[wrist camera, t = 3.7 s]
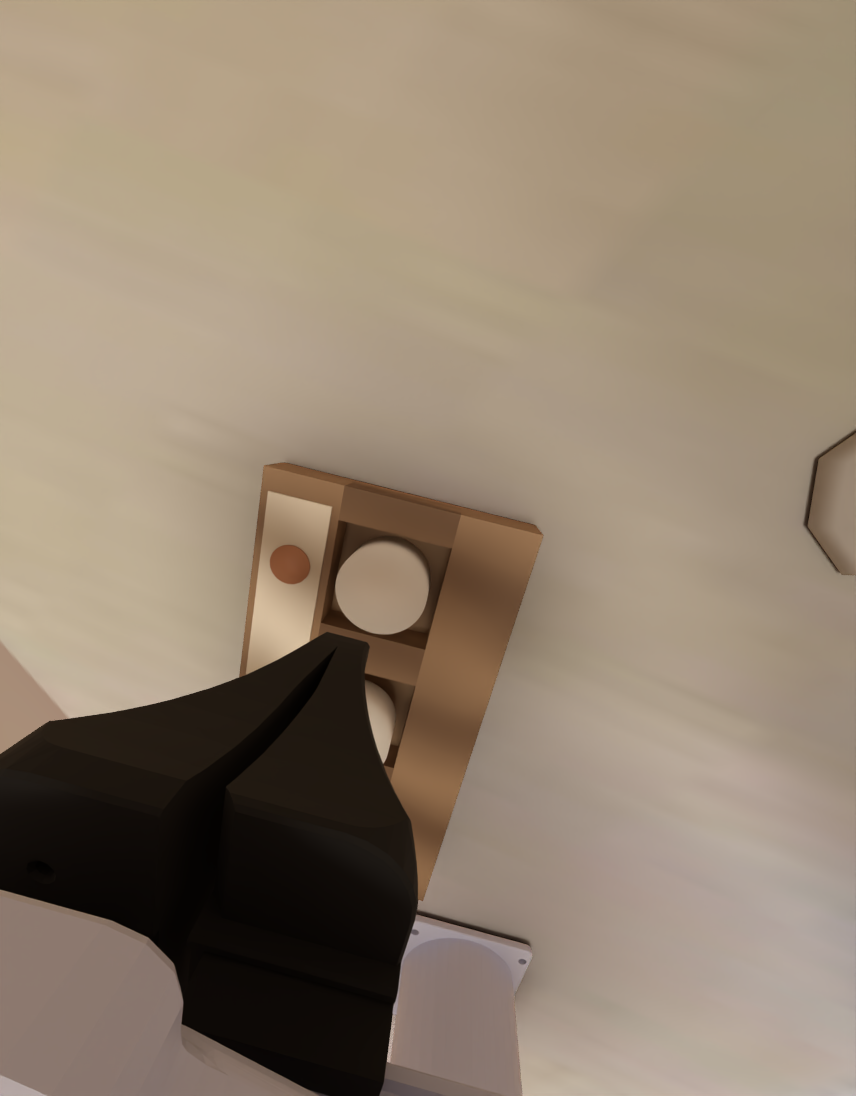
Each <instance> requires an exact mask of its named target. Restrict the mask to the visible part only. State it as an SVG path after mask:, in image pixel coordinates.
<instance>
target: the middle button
mask: <svg viewBox="0 0 856 1096" xmlns="http://www.w3.org/2000/svg"><path fill="white" fill-rule="evenodd" d="M365 691H366V701H367V708H368V714H369V719H370V723H371V728H372V732H373V735H374V739H375V743H376V746H377V749H378V752H379V754H380V757H381V760H382V762H383V763H384V762H385V760H386V758H387V755H388V751H389V747H390V743H391V739H392V735H393V731H394V726H395V722H396V710H395V707H394V704H393V702H392V700H391V698H390V697H389V695H388V694H387V693H386V692H385V691H384V690H383V689H382V688H380V687H379V686H378V685H376V684H374V683H372V682H370V681H367V680H365Z"/></svg>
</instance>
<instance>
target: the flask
mask: <svg viewBox="0 0 856 1096" xmlns="http://www.w3.org/2000/svg"><path fill="white" fill-rule="evenodd" d="M808 528H809V529H810V531H811V532H812V533H813V535H814V536H815V538H816V539H817V540H818V542H819V543H820V545H821V546H822V548H823V549H824V550H825V552H826V553H827V555H828V556H829V557H830V559H831V560H832V562H833V563H834V565H835V566H836V567H837V569H838V570H839V572H840V573H841V574H842V575H856V433H855V434H854V435H852V436H851V437H849V438H848V439H847V440H845V441H844V442H842V443H841V444H839V445H838V446H836V447H835V448H834V449H832V450H831V451H829V452H828V453H826V454H825V455H823V456H822V457H820V458H819V461H818V467H817V473H816V479H815V485H814V491H813V497H812V503H811V509H810V515H809V521H808Z"/></svg>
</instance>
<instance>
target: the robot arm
mask: <svg viewBox="0 0 856 1096" xmlns="http://www.w3.org/2000/svg"><path fill="white" fill-rule="evenodd" d="M369 649H370V646H369V644H368V643H367V642H365V641H361V640H357V639H353V638H349V637H345V636H342V635H338V634H334V633H330V632H326V633H324V634H322V635H320V636H318V637H317V638H315V639H313V640H311V641H310V642H308V643H306V644H305V645H303V646H301V647H299V648H298V649H296V650H294V651H292V652H291V653H289V654H287V655H285V656H283V657H282V658H280V659H278V660H276V661H274V662H272V663H270V664H268V665H266V666H264V667H261V668H259V669H257V670H255V671H253V672H251V673H249V674H246V675H244V676H242V677H239V678H237V679H234V680H232V681H229V682H226V683H223V684H221V685H218V686H215V687H212V688H209V689H206V690H203V691H199V692H196V693H193V694H189V695H186V696H182V697H179V698H176V699H172V700H168V701H164V702H160V703H156V704H151V705H147V706H142V707H137V708H133V709H128V710H123V711H117V712H111V713H105V714H98V715H92V716H85V717H78V718H71V719H64V720H56V721H49V722H47V723H46V724H44V725H43V726H41V727H39V728H38V729H37V730H35V731H34V732H32V733H31V734H29V735H28V736H26V737H25V738H23V739H22V740H20V741H19V742H18V743H16V744H14V745H13V746H12V747H10V748H9V749H7V750H6V751H4V752H3V753H1V754H0V1096H522V1084H521V1073H520V1062H519V1050H518V1039H517V1027H516V1016H515V1005H514V996H515V993H516V991H517V989H518V987H519V985H520V983H521V981H522V979H523V976H524V974H525V972H526V970H527V968H528V966H529V964H530V961H531V959H532V956H533V955H532V949H531V947H530V946H529V945H527V944H523V943H520V942H516V941H512V940H509V939H505V938H501V937H498V936H494V935H490V934H487V933H483V932H479V931H476V930H472V929H468V928H465V927H461V926H457V925H454V924H450V923H446V922H443V921H439V920H435V919H432V918H428V917H424V916H421V915H416V913H417V906H418V873H417V861H416V852H415V844H414V837H413V831H412V824H411V820H410V818H409V816H408V815H407V813H406V811H405V809H404V808H403V806H402V804H401V802H400V800H399V798H398V796H397V795H396V793H395V791H394V788H393V786H392V784H391V782H390V780H389V778H388V775H387V773H386V770H385V768H384V765H383V762H382V760H381V757H380V754H379V752H378V749H377V746H376V743H375V739H374V735H373V732H372V728H371V723H370V719H369V714H368V708H367V701H366V691H365V667H366V662H367V658H368V653H369ZM392 1014H393V1015H396V1018H395V1027H394V1035H393V1043H392V1052H391V1060H390V1063H388V1062H387V1054H388V1046H389V1038H390V1030H391V1022H392Z"/></svg>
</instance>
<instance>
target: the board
mask: <svg viewBox="0 0 856 1096" xmlns="http://www.w3.org/2000/svg"><path fill="white" fill-rule="evenodd" d="M381 536H394V537H399V538H402V539H404V540H407V541H409V542H410V543H412V544H413V545H415V546H416V547H417V548H418V549H419V550H420V551H421V552H422V553H423V555H424V556H425V558H426V560H427V562H428V564H429V567H430V572H431V583H430V589H429V593H428V597H427V602H426V605H425V608H424V611H423V613H422V614H421V616H420V617H419V619H418V620H417V621H416V622H415V623H414V624H413V625H411V626H410V627H409V628H407V629H405V630H403V631H401V632H397V633H393V634H375V633H371V632H368V631H365V630H363V629H361V628H359V627H357V626H356V625H355V624H353V623H352V622H351V621H350V620H349V619H348V618H347V617H346V616H345V615H344V613H343V612H342V610H341V608H340V606H339V604H338V601H337V598H336V592H335V585H336V579H337V575H338V572H339V570H340V568H341V567H342V565H343V564H344V563H345V561H346V560H347V559H348V558H349V557H350V556H351V555H352V554H353V553H354V552H355V551H356V550H357V549H358V548H359V547H360V546H361V545H362V544H364V543H365V542H366V541H368V540H370V539H373V538H376V537H381ZM542 538H543V534H542V533H541V532H540V531H539V529H538V528H537V527H536V526H535V525H532V524H528V523H524V522H520V521H516V520H512V519H508V518H504V517H500V516H496V515H492V514H488V513H484V512H480V511H476V510H472V509H468V508H464V507H460V506H456V505H452V504H448V503H444V502H440V501H436V500H432V499H428V498H424V497H420V496H416V495H412V494H408V493H404V492H400V491H396V490H392V489H388V488H384V487H380V486H376V485H372V484H368V483H364V482H360V481H356V480H352V479H348V478H344V477H340V476H336V475H332V474H328V473H324V472H320V471H316V470H312V469H308V468H304V467H300V466H296V465H292V464H288V463H278V464H271V465H264V469H263V478H262V486H261V495H260V504H259V512H258V521H257V529H256V538H255V547H254V555H253V564H252V572H251V581H250V590H249V598H248V607H247V616H246V624H245V633H244V641H243V650H242V659H241V667H240V676H239V677H242V676H244V675H246V674H249V673H251V672H253V671H255V670H257V669H259V668H261V667H264V666H266V665H268V664H270V663H272V662H274V661H276V660H278V659H280V658H282V657H283V656H285V655H287V654H289V653H291V652H292V651H294V650H296V649H298V648H299V647H301V646H303V645H305V644H306V643H308V642H310V641H311V640H313V639H315V638H317V637H318V636H320V635H322V634H324V633H326V632H330V633H334V634H338V635H342V636H345V637H349V638H353V639H357V640H361V641H365V642H367V643H368V644H369V646H370V649H369V653H368V658H367V662H366V667H365V680H367V681H370V682H372V683H374V684H376V685H378V686H379V687H380V688H382V689H383V690H384V691H385V692H386V693H387V694H388V695H389V697H390V698H391V700H392V702H393V704H394V707H395V710H396V722H395V726H394V731H393V735H392V739H391V743H390V747H389V751H388V755H387V758H386V760H385V762H384V763H383V765H384V768H385V770H386V773H387V775H388V778H389V780H390V782H391V784H392V786H393V788H394V791H395V793H396V795H397V796H398V798H399V800H400V802H401V804H402V806H403V808H404V809H405V811H406V813H407V815H408V816H409V818H410V820H411V824H412V831H413V837H414V844H415V852H416V861H417V873H418V900H421V901H423V899H424V896H425V893H426V890H427V887H428V884H429V881H430V878H431V875H432V872H433V868H434V865H435V862H436V859H437V856H438V853H439V850H440V847H441V844H442V841H443V838H444V835H445V832H446V829H447V826H448V823H449V820H450V817H451V814H452V811H453V808H454V805H455V802H456V799H457V796H458V793H459V790H460V787H461V784H462V781H463V778H464V775H465V772H466V769H467V765H468V762H469V759H470V756H471V753H472V750H473V747H474V744H475V741H476V738H477V735H478V732H479V729H480V726H481V723H482V720H483V717H484V714H485V711H486V708H487V705H488V702H489V699H490V696H491V693H492V690H493V687H494V684H495V681H496V678H497V675H498V672H499V669H500V666H501V662H502V659H503V656H504V653H505V650H506V647H507V644H508V641H509V638H510V635H511V632H512V629H513V626H514V623H515V620H516V617H517V614H518V611H519V608H520V605H521V602H522V599H523V596H524V593H525V590H526V587H527V584H528V581H529V578H530V575H531V572H532V569H533V566H534V563H535V559H536V556H537V553H538V550H539V547H540V544H541V541H542Z"/></svg>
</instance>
